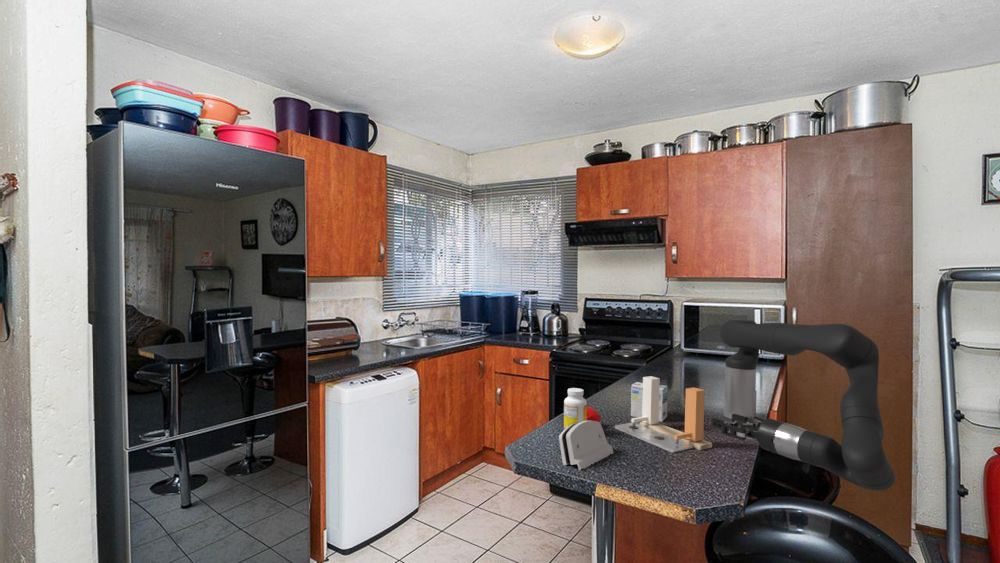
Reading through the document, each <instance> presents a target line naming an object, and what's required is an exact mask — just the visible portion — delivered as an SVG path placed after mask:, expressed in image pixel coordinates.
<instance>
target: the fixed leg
mask: <svg viewBox="0 0 1000 563" xmlns="http://www.w3.org/2000/svg"><path fill="white" fill-rule="evenodd" d="M660 379H661V378H660V377H656V376H652V375H650V376H643V377H642V383H643V399H642V417H632V418H631V419H630V421H631V422H632V426H633V427H635V423H640V422H645V423H647V424H650V425H652V424H657V423H660V421H659V386H660V384H661V382H660ZM631 422H630V423H631Z"/></svg>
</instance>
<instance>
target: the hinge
mask: <svg viewBox="0 0 1000 563" xmlns="http://www.w3.org/2000/svg"><path fill="white" fill-rule="evenodd" d="M558 442H559V448H560V453H561V454H560V455H561V461H562V465H563V464H564V465H563V466H568V465H570V466H571V465H572V466H573V465H577V468H578V471H582V470H581V469H583V468H584V469H586V468H588V467H590V466H592V465H593V464H595V462H596V463H597V462H599V461H602V460H603V459H604V458H607V457H609V456H611V455H612V454H614V449H613V446H612V444H610V443H609V442H608V440H607V437H606V435H605V432H604V429H603V426H602V424H601V421H600V422H597V421H592V420H590V421H580V422H577V423H574V424H572V425H570V426H568V427H567V428H566V429H565V430H564V429H563V431H562V432H561V433H560V434H559V436H558ZM610 454H611V455H610ZM591 464H592V465H591ZM584 469H583V470H584Z"/></svg>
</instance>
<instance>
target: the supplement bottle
mask: <svg viewBox="0 0 1000 563" xmlns="http://www.w3.org/2000/svg"><path fill="white" fill-rule="evenodd" d="M584 391H585V390H584V389H582V388H577V387H570V388H568V389H567V397H566V398H564V400H563V431H564V430H565V429H566V428H567V427H568V426H570V425H572V424H574V423H577V422H580V421H586V410H587V407H588V406H587V404H588V403H587V402H588V401H587V400H586V399H585V398H584V397H583V396H584V393H585V392H584Z"/></svg>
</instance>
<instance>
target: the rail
mask: <svg viewBox="0 0 1000 563" xmlns="http://www.w3.org/2000/svg"><path fill="white" fill-rule="evenodd" d="M638 424H640V425H642V426H645V427H647V428H650V429H653V430H655V431H658V432H660V433H663V434H665V435H668V436H670V437H673V438H674V435H677V434H681V433H685V431H684V432H683V431H681V430H678V429H675V428H672V427H670V426H667V425H664V424H661V423H660V422H658V423H657V424H652V425H650V424H647V423H645V422H642V421H641V422H638ZM679 440H681V441H683V442H686V443H688V444H691V445H693V448H694V449H696V450H698V451H703V450H707V449H711V448H713V443H712V442H710V441H708V440H706V439H703V440H700V441H696V442H695V441H692V440H689V439H687V438H683V439H679ZM693 448H692V449H693Z"/></svg>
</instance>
